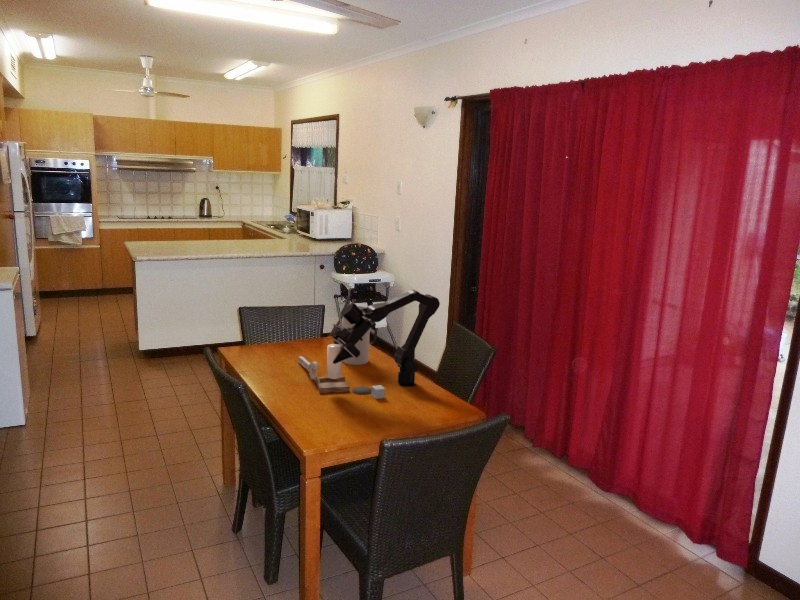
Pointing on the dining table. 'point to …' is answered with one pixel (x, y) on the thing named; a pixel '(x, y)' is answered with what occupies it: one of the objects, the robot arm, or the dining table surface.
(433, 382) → the dining table surface
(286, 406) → the dining table surface
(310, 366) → the wrench
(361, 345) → the cylinder vase
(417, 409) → the dining table surface
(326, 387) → the bay
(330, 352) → the white rounded tapered post
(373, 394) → the block
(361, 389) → the coaster
